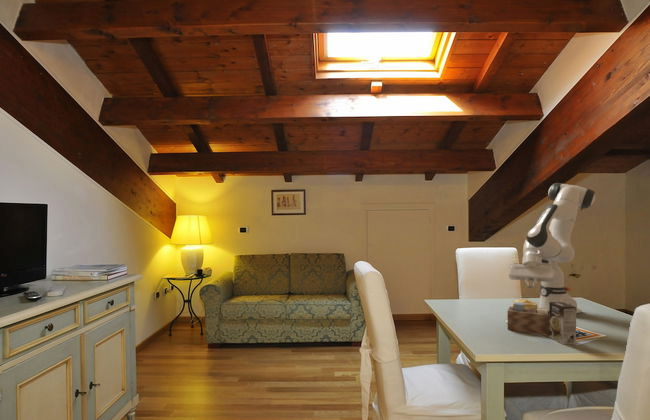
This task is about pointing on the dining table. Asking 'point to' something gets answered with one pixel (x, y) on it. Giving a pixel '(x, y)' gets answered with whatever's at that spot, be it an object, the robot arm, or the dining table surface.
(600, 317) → the dining table surface
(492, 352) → the dining table surface
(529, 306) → the sculpture
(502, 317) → the dining table surface
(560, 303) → the coffee box
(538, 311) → the white key
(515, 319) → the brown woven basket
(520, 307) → the blue key
